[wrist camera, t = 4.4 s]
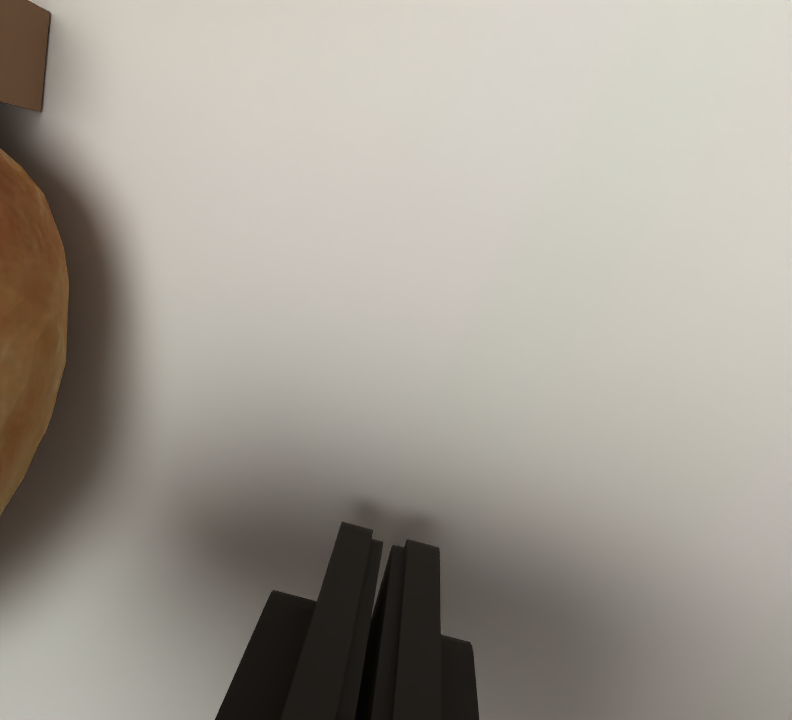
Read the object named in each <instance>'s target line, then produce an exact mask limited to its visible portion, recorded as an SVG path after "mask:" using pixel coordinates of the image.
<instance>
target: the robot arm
mask: <svg viewBox="0 0 792 720" xmlns="http://www.w3.org/2000/svg"><path fill="white" fill-rule="evenodd" d="M372 533H373V530H371V529H367V528H363V527H360V526H356V525H352V524H348V523H344V522H342V523H341V526H340V529H339V532H338V536H337V539H336V542H335V545H334V549H333V552H332V555H331V558H330V562H329V565H328V568H327V571H326V575H325V578H324V581H323V584H322V587H321V591H320V594H319V597H318V600H317V601H313V600H309V599H305V598H301V597H298V596H294V595H290V594H286V593H283V592H279V591H275V590H273V591H272V592H271V594H270V596H269V598H268V600H267V603H266V605H265V607H264V609H263V612H262V614H261V616H260V618H259V621H258V623H257V625H256V628H255V630H254V632H253V634H252V637H251V639H250V641H249V643H248V646H247V648H246V650H245V653H244V655H243V657H242V659H241V662H240V664H239V666H238V668H237V671H236V673H235V675H234V678H233V680H232V682H231V684H230V687H229V689H228V691H227V693H226V696H225V698H224V700H223V703H222V705H221V707H220V709H219V712H218V714H217V716H216V718H215V720H479V712H478V701H477V689H476V678H475V667H474V655H473V649H472V645H471V644H470V642H467V641H463V640H459V639H456V638H452V637H448V636H444V635H441V626H440V551H439V548H438V547H435V546H431V545H427V544H424V543H420V542H416V541H412V540H408V539H407V541H406V543H405V546H404V547H400V546H396V545H393V546H392V548H391V551H390V555H389V558H388V562H387V565H386V569H385V572H384V576H383V579H382V583H381V586H380V590H379V593H378V597H377V600H376V604H375V607H374V611H373V614H372V609H373V603H374V597H375V590H376V584H377V578H378V572H379V566H380V559H381V553H382V547H383V542H381V541H377V540H374V539H371V538H372ZM371 615H372V618H371Z"/></svg>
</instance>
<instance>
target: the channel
mask: <svg viewBox="0 0 792 720" xmlns="http://www.w3.org/2000/svg"><path fill="white" fill-rule="evenodd" d="M49 15H50V12H48V11H47V10H45V9H43V8H41V7H39V6H37V5H35V4H34V3H32V2H30V1H28V0H0V102H3V103H7V104H11V105H15V106H19V107H23V108H26V109H30V110H34V111H38V112H41V104H42V93H43V82H44V71H45V60H46V49H47V38H48V27H49Z"/></svg>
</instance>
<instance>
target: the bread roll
mask: <svg viewBox="0 0 792 720" xmlns="http://www.w3.org/2000/svg"><path fill="white" fill-rule="evenodd" d="M68 296H69V279H68V272H67V266H66V259H65V252H64V246H63V243H62V240H61V238H60V235H59V232H58V229H57V226H56V224H55V221H54V218H53V216H52V213H51V210H50V208H49V205H48V202H47V200H46V197H45V195H44V194H43V192H42V191H41V190H40V189H39V187H38V186H37V185H36V184H35V183H34V181H33V180H32V179H31V178H30V176H29V175H28V174H27V173H26V172H25V170H24V169H23V168H22V167H21V166H20V165H19V164H18V163H17V162H16V161H14V160H13V159H12V158H11V157H10V156H8V155H7V154H6V153H5V152H4V151H3V150H1V149H0V516H1V514H2V512H3V511H4V509H5V508H6V506H7V504H8V503H9V501H10V500H11V498H12V496H13V495H14V493H15V491H16V490H17V488H18V487H19V485H20V483H21V482H22V480H23V478H24V476H25V475H26V472H27V470H28V468H29V466H30V463H31V461H32V459H33V457H34V454H35V452H36V450H37V448H38V445H39V443H40V441H41V439H42V438H43V436H44V434H45V433H46V430H47V427H48V425H49V422H50V419H51V417H52V413H53V409H54V406H55V402H56V398H57V394H58V390H59V387H60V383H61V379H62V375H63V372H64V368H65V364H66V345H67V320H68Z"/></svg>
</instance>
